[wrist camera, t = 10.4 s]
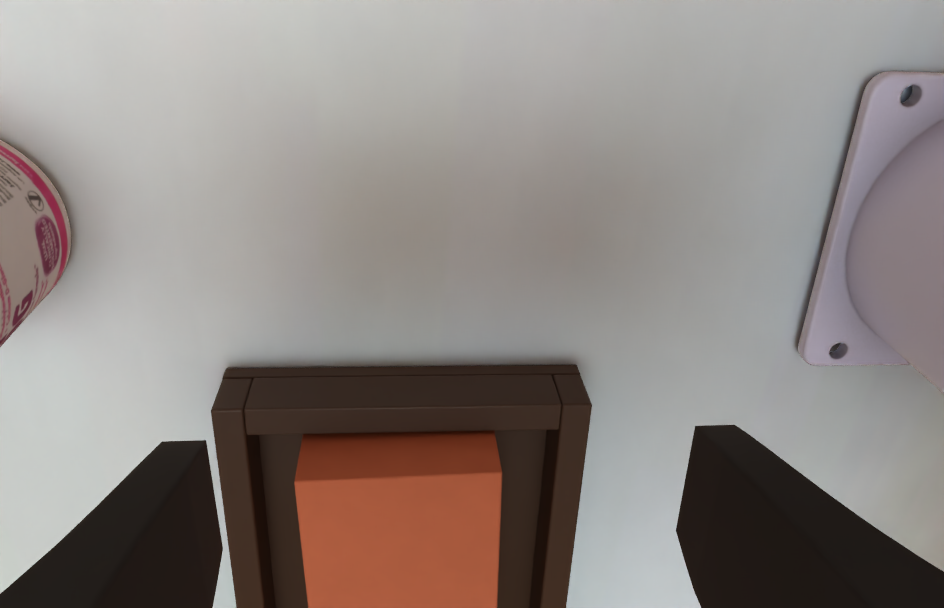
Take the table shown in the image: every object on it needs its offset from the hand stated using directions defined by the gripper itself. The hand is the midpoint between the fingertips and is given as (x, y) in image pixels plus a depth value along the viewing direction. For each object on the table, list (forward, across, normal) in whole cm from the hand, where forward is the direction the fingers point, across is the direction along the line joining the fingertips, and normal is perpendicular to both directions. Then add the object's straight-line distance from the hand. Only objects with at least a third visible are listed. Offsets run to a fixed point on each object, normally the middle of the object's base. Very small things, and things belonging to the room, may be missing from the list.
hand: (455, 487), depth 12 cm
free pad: (+9, +1, +8) cm, 12 cm away
